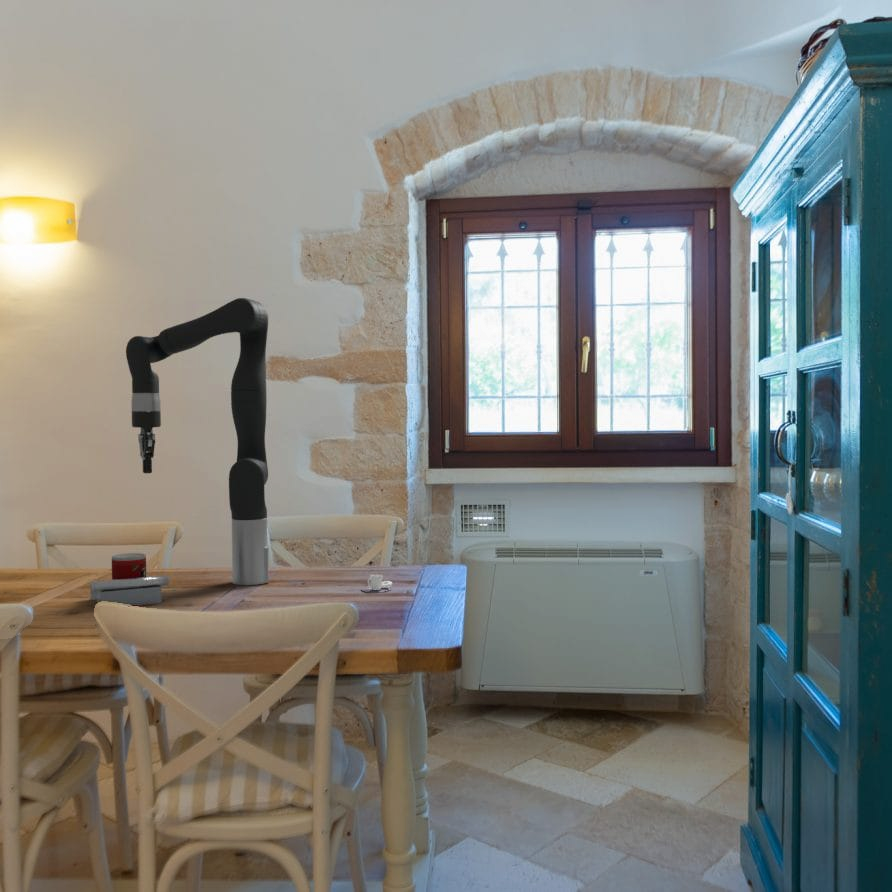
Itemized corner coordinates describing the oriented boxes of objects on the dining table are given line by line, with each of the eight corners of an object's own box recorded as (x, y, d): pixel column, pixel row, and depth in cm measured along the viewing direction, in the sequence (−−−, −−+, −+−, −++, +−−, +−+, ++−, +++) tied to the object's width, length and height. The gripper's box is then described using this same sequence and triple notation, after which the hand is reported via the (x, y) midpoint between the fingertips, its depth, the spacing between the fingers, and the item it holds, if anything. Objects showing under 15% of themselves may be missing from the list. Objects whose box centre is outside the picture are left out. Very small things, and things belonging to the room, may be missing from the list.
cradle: (159, 592, 224) (159, 567, 224) (169, 602, 212) (168, 576, 212) (87, 599, 216) (86, 573, 216) (93, 610, 204) (92, 582, 204)
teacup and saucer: (389, 587, 232) (389, 571, 232) (399, 592, 224) (399, 576, 224) (356, 589, 229) (356, 574, 228) (366, 595, 221) (365, 579, 221)
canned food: (137, 604, 210) (136, 558, 210) (106, 603, 211) (105, 557, 211) (152, 597, 218) (151, 553, 217) (121, 597, 219) (121, 552, 218)
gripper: (128, 410, 247) (129, 472, 248) (135, 409, 235) (136, 475, 236) (156, 410, 250) (157, 471, 251) (164, 409, 239) (165, 474, 239)
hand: (147, 473), depth 243 cm, fingers closed
